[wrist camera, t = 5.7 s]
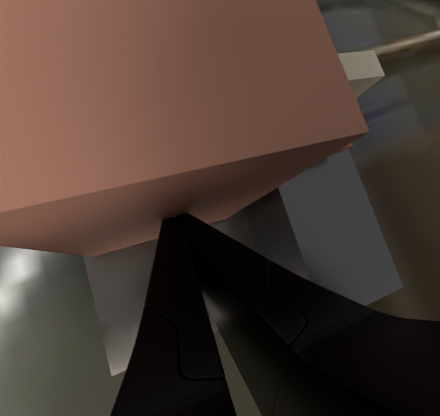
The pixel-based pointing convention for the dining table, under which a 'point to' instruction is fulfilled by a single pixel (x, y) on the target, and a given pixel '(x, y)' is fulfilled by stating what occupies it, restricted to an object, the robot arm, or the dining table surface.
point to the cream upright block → (361, 70)
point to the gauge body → (266, 249)
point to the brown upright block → (158, 113)
